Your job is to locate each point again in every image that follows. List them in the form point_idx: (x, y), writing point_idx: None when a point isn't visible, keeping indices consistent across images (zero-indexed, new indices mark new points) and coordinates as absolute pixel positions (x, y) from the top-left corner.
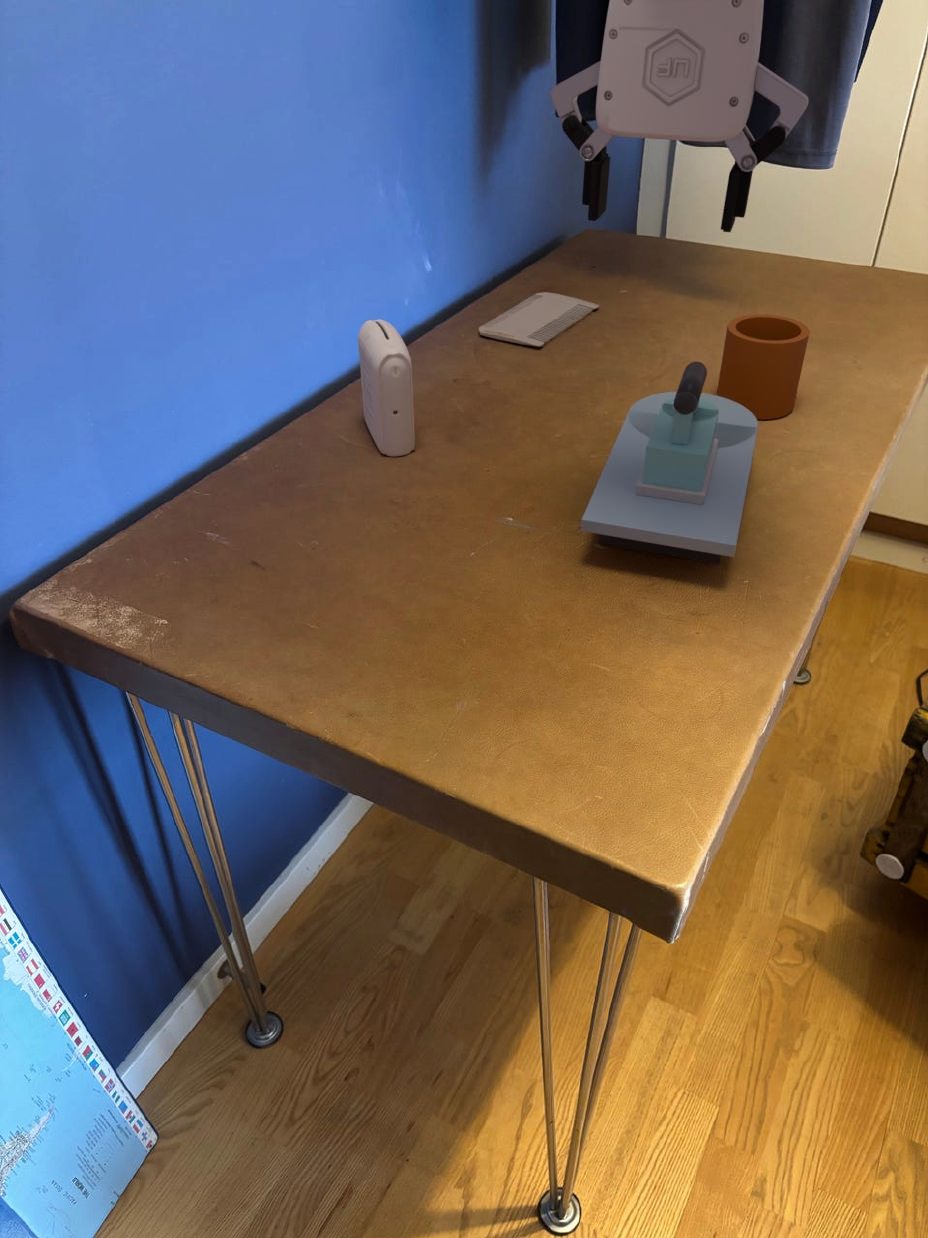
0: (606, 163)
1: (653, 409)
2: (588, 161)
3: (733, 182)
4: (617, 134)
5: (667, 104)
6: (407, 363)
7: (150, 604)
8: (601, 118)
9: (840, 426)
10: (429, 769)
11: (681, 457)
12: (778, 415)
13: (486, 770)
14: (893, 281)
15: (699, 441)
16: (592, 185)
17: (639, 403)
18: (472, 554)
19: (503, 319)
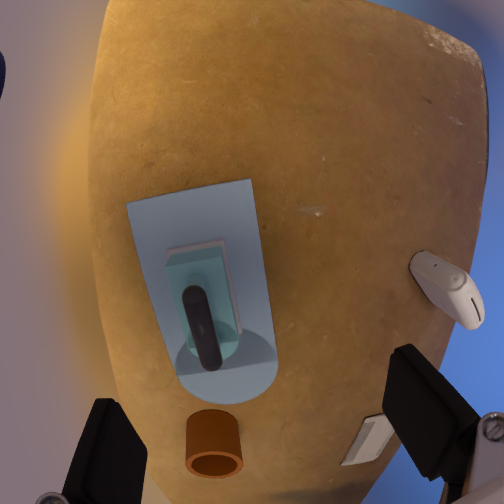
0: (431, 455)
1: (260, 369)
2: (475, 424)
3: (79, 473)
4: (479, 490)
5: None
6: (450, 290)
7: (443, 56)
8: None
9: (154, 419)
10: None
11: (187, 260)
12: (190, 417)
13: None
14: None
15: (180, 288)
16: (444, 385)
17: (273, 372)
18: (323, 158)
19: (392, 427)
